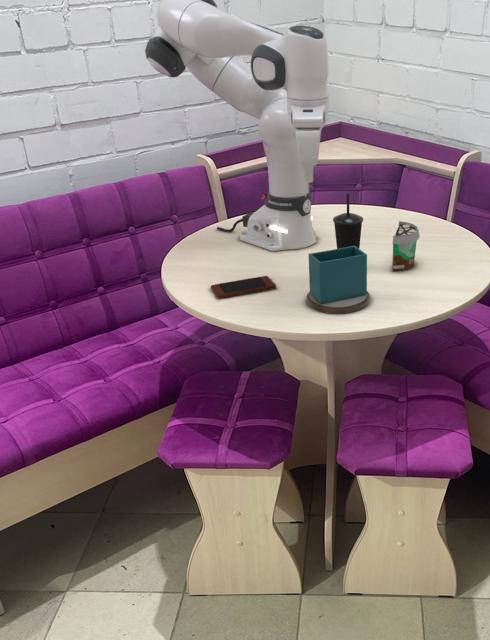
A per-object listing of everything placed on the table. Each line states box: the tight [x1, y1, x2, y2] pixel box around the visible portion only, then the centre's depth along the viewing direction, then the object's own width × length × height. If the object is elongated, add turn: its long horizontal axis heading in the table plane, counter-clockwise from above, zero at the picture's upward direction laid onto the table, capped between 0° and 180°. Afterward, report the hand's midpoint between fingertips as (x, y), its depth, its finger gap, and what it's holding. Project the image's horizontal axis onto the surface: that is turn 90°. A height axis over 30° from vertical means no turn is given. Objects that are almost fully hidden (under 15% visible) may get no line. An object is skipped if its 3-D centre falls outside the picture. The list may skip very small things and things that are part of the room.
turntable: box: [306, 290, 371, 315], centre depth 179 cm, size 15×15×2 cm
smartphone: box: [210, 275, 277, 299], centre depth 185 cm, size 7×1×15 cm
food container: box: [392, 220, 421, 272], centre depth 195 cm, size 12×6×10 cm, turn 168°
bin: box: [308, 246, 368, 303], centre depth 176 cm, size 7×12×10 cm, turn 115°
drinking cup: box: [332, 193, 364, 249], centre depth 191 cm, size 8×8×20 cm
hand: (309, 175), depth 166 cm, fingers open, 8 cm apart
